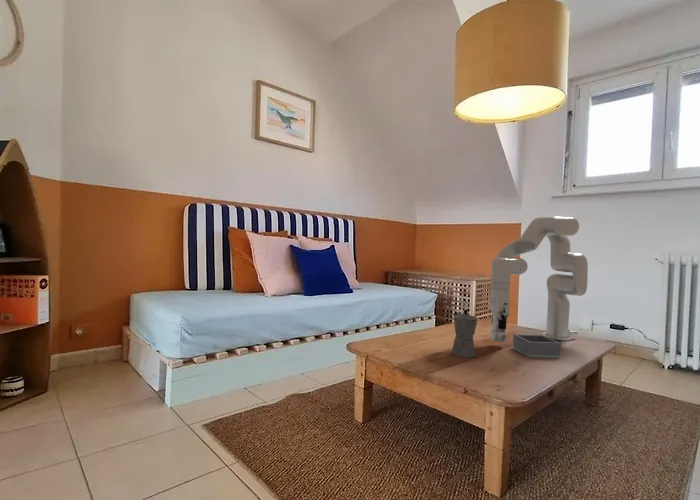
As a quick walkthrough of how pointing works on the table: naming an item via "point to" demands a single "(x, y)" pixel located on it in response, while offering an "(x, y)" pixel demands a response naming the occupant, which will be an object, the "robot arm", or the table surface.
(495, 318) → the plastic bottle
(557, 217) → the robot arm
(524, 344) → the grey open box
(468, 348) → the coffeepot
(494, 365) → the table surface
